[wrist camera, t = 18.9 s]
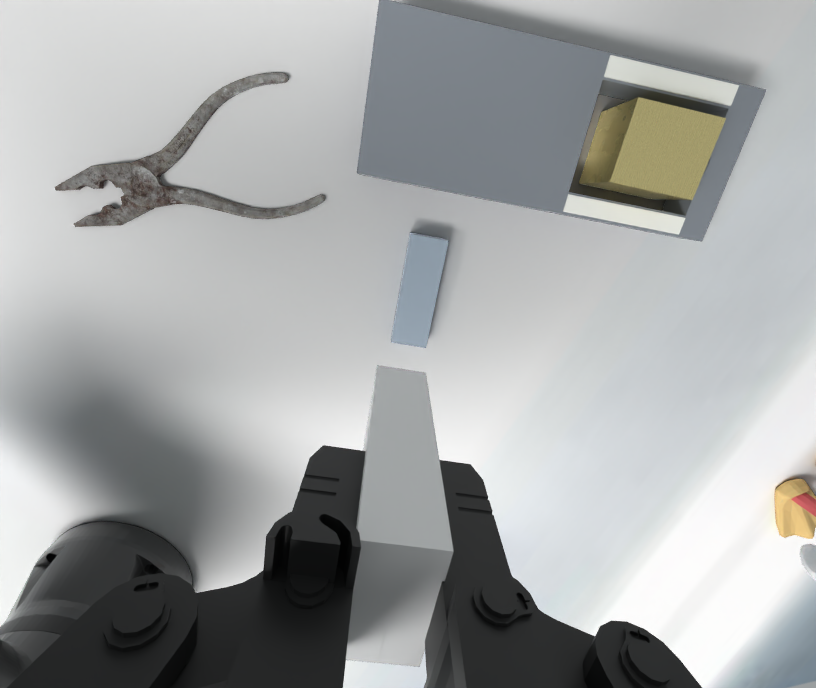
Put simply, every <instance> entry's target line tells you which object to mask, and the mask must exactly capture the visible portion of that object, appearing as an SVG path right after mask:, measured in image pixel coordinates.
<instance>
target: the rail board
mask: <svg viewBox="0 0 816 688" xmlns="http://www.w3.org/2000/svg"><path fill="white" fill-rule="evenodd" d="M765 92H766V89H762V88H758V87H753V86H749V85H745V84H741V83H736V82H732V81H728V80H724V79H720V78H715V77H711V76H707V75H703V74H699V73H694V72H690V71H686V70H682V69H677V68H673V67H669V66H665V65H661V64H656V63H652V62H648V61H644V60H640V59H635V58H631V57H627V56H623V55H618V54H614V53H610V52H606V51H602V50H597V49H593V48H589V47H585V46H581V45H576V44H572V43H568V42H564V41H559V40H555V39H551V38H547V37H543V36H538V35H534V34H530V33H526V32H521V31H517V30H513V29H509V28H505V27H500V26H496V25H492V24H488V23H484V22H479V21H475V20H471V19H467V18H462V17H458V16H454V15H450V14H446V13H441V12H437V11H433V10H429V9H425V8H420V7H416V6H412V5H408V4H403V3H399V2H395V1H391V0H379V6H378V14H377V21H376V29H375V37H374V44H373V52H372V60H371V68H370V75H369V83H368V91H367V99H366V106H365V114H364V122H363V130H362V137H361V145H360V153H359V161H358V168H357V173H358V174H360V175H365V176H370V177H375V178H380V179H385V180H390V181H395V182H400V183H405V184H410V185H415V186H420V187H425V188H430V189H435V190H440V191H445V192H450V193H455V194H460V195H465V196H470V197H475V198H480V199H485V200H491V201H496V202H501V203H506V204H511V205H516V206H521V207H526V208H531V209H536V210H541V211H546V212H551V213H556V214H561V215H566V216H571V217H576V218H581V219H586V220H591V221H596V222H601V223H606V224H611V225H616V226H621V227H626V228H631V229H636V230H642V231H647V232H652V233H657V234H662V235H667V236H672V237H677V238H683V239H689V240H696V241H702V240H703V238H704V235H705V233H706V231H707V228H708V226H709V224H710V221H711V219H712V217H713V214H714V212H715V210H716V207H717V205H718V203H719V200H720V198H721V196H722V193H723V191H724V189H725V186H726V184H727V181H728V179H729V177H730V174H731V172H732V170H733V167H734V165H735V163H736V160H737V158H738V156H739V153H740V151H741V149H742V146H743V144H744V142H745V139H746V137H747V135H748V132H749V130H750V127H751V125H752V123H753V120H754V118H755V116H756V113H757V111H758V109H759V106H760V104H761V102H762V99H763V97H764V95H765ZM598 94H601V95H605V96H610V97H614V98H619V99H623V100H627V101H630V100H633V99H635V98H638V97H640V98H644V99H649V100H653V101H657V102H661V103H665V104H669V105H673V106H678V107H682V108H686V109H690V110H694V111H698V112H702V113H706V114H711V115H715V116H719V117H723V118H726V120H725V123H724V125H723V127H722V130H721V132H720V135H719V137H718V139H717V142H716V144H715V147H714V149H713V152H712V154H711V158H710V162H709V165H708V167H707V169H706V171H705V172H704V174H703V176H702V178H701V181H700V183H699V186H698V188H697V190H696V193H695V195H694V198H693V200H666V201H665V204H664V206H663V209H662V211H659V210H655V209H650V208H645V207H640V206H635V205H630V204H625V203H620V202H615V201H610V200H606V199H601V198H596V197H591V196H586V195H581V194H576V193H571V192H569V190H570V187H571V183H572V180H573V177H574V173H575V170H576V167H577V163H578V160H579V157H580V154H581V150H582V147H583V144H584V140H585V137H586V134H587V130H588V127H589V124H590V120H591V117H592V114H593V110H594V107H595V104H596V101H597V97H598Z"/></svg>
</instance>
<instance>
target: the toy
mask: <svg viewBox="0 0 816 688" xmlns="http://www.w3.org/2000/svg"><path fill="white" fill-rule="evenodd" d="M775 514H776V524H777V528H778V531H779V534H780V535H781V536H782V537H784V538H785V537H788V536H792V535H797V536H801V537H804V538H808V539H812V538H813V537H814V532H815V527H816V496H815V495H814V493H813V492H812V490H811V489H810V487H809V486H808V485H807V483H806V482H805V480H803V479H794V480H789V481H786V482H784V483H783V484H781V485H780V486H779V487H777V488H776V491H775ZM800 557H801V561H802V565H803V566H804V568H805V570H806V572H807V573H808V574H809V575H810V576H811V577H812V578H813V579H814V580H815V581H816V545H812V544H807V545H803V546H801V549H800Z"/></svg>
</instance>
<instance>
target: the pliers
mask: <svg viewBox="0 0 816 688" xmlns="http://www.w3.org/2000/svg"><path fill="white" fill-rule="evenodd" d="M288 79H289V78H288V76H287V75H286V74H285V73H264V74H258V75H254V76H249V77H246V78H243V79H240V80H238V81H235V82H233V83H231V84H229V85H227V86H225V87H223V88H221V89H219V90H218V91H217V92H215V93H214V94H212V95H211V96H210V97H209V98H208V99H207V100H206V101H205V102H204V103H203V104H202V105H201V106H200V107H199V108H198V109H197V111H196V112H195V113H194V114H193V115H192V117H191V118H190V119H189V120H188V122H187V123H186V124H185V125H184V127H183V128H182V129H181V130H180V131H179V133H178V134H177V135H176V136H175V137H174V138H173V139H172V141H171V142H170V143H169V144H168V145H167V146H165V147H164V148H163V149H162V150H161V151H159V152H157V153H155V154H153V155H152V156H147V157H144V158H142V159H139V160H137V161H135V162H132V163H119V164H109V165H99V166H91V167H89V168H87V169H86V170H84V171H82V172H80V173H79V174H77V175H75V176H73V177H72V178H70V179H68V180H66V181H65V182H63V183H61V184H59V185H58V186H56V187H55V190H80V189H81V188H82V187H85V186H89V187H91V188H93V189H100V188H103V185H104V182H105V181H106V180H109V181H112V183H113V184H114V185H115V187H121V189H122V191H123V193H124V196H122V197H121V200H122V205H121V207H120V209H116V208H115V207H113V206H112V205H106V206H104V207H103V209H102V210H101V211H102V212H101V213H100V214H97V215H88V216H87V217H85V218H83V219H81V220H80V221H78V222H76V223H74V225H75V227H82V226H111V225H123V224H125V223H127V222H129V221H131V220H132V219H134V218H136V217H138V216H140V215H142V214H144V213H146V212H148V211H150V210H152V209H154V208H155V207H161V206H167V205H173V204H190V205H197V206H202V207H207V208H211V209H215V210H219V211H223V212H227V213H231V214H235V215H239V216H243V217H249V218H255V219H271V218H280V217H286V216H290V215H295V214H298V213H301V212H304V211H307V210H309V209H311V208H313V207H315V206H317V205H319V204H320V203H322V202H323V201H324V200H325V196H323V195H318V196H316V197H314V198H312V199H310V200H307V201H305V202H303V203H300V204H297V205H294V206H291V207H285V208H278V209H261V208H253V207H249V206H245V205H241V204H238V203H235V202H231V201H228V200H225V199H222V198H219V197H216V196H213V195H211V194H208V193H204V192H201V191H197V190H192V189H187V188H180V187H172V186H164V185H162V182H161V180H160V176H161V174H163V173H165V172H166V171H167V170H168V169H169V168H171V167H172V166H173V165H174V164H175V163H176V162H177V161H178V160H179V159H180V158H181V157H182V156H183V155H184V153H185V152H186V151H187V149H188V148H189V147H190V145H191V144H192V142H193V141H194V139H195V138H196V136H197V135H198V133H199V132H200V130H201V129H202V128H203V126H204V125H205V124H206V122H207V121H208V120H209V118H210V117H211V116H212V115H213V113H214V112H215V111H216V110H217V109H218V107H220V106H221V105H222V104H223V103H225V102H226V101H227V100H228V99H230V98H232V97H233V96H235V95H237V94H239V93H241V92H243V91H246V90H248V89H250V88H253V87H257V86H262V85H267V84H278V83H286V82H287V81H288Z"/></svg>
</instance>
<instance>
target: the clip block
mask: <svg viewBox="0 0 816 688" xmlns="http://www.w3.org/2000/svg"><path fill="white" fill-rule="evenodd" d="M725 120H726V118H723V117H719V116H715V115H711V114H706V113H702V112H698V111H694V110H690V109H686V108H682V107H678V106H673V105H669V104H665V103H661V102H657V101H653V100H649V99H644V98H640V97H638V98H635V99H633V100H630V101H628V102H625V103H623V104H620V105H618V106H615V107H613V108H610V109H608V110H605V111H603V112H601V115H600V118H599V121H598V124H597V128H596V131H595V134H594V137H593V140H592V143H591V146H590V150H589V153H588V156H587V159H586V162H585V165H584V169H583V172H582V175H581V178H580V181H579V184H583V185H588V186H592V187H597V188H601V189H606V190H611V191H615V192H620V193H624V194H629V195H634V196H638V197H643V198H647V199H666V200H693V198H694V195H695V193H696V190H697V188H698V186H699V183H700V181H701V178H702V176H703V174H704V172H705V171H706V169H707V167H708V165H709V162H710V158H711V154H712V152H713V149H714V147H715V144H716V142H717V139H718V137H719V135H720V132H721V130H722V127H723V125H724V123H725Z"/></svg>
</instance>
